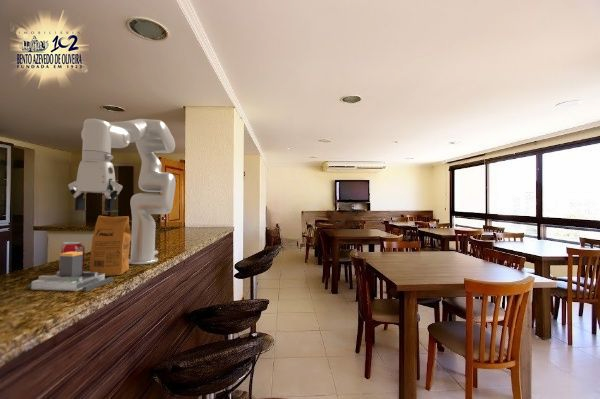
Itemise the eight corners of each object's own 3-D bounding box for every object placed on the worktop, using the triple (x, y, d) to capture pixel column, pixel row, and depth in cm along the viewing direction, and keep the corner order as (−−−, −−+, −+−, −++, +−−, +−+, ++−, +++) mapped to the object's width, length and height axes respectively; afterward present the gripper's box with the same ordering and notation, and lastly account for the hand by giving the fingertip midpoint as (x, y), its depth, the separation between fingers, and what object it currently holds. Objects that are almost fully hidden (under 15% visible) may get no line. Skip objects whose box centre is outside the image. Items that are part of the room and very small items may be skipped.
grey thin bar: (110, 280, 97) (110, 277, 97) (113, 280, 97) (113, 277, 97) (82, 291, 85) (82, 287, 85) (86, 291, 85) (86, 287, 85)
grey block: (69, 274, 93) (70, 251, 94) (81, 275, 93) (82, 251, 94) (59, 277, 89) (60, 253, 90) (71, 278, 89) (72, 253, 90)
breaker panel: (65, 279, 98) (65, 269, 98) (104, 280, 97) (105, 270, 97) (31, 289, 86) (31, 278, 86) (76, 290, 85) (76, 279, 85)
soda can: (69, 278, 98) (71, 244, 99) (53, 276, 100) (55, 243, 100) (88, 273, 105) (89, 241, 106) (73, 272, 107) (74, 240, 107)
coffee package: (98, 270, 111) (101, 214, 111) (132, 270, 113) (135, 215, 113) (83, 277, 101) (86, 216, 101) (120, 276, 103) (123, 216, 103)
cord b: (56, 279, 97) (56, 276, 97) (60, 279, 97) (60, 276, 97) (27, 288, 87) (28, 284, 87) (31, 288, 87) (31, 284, 87)
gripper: (129, 160, 95) (127, 211, 94) (80, 159, 95) (78, 209, 95) (114, 156, 87) (112, 211, 87) (60, 155, 88) (58, 210, 88)
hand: (94, 210), depth 91 cm, fingers open, 9 cm apart
